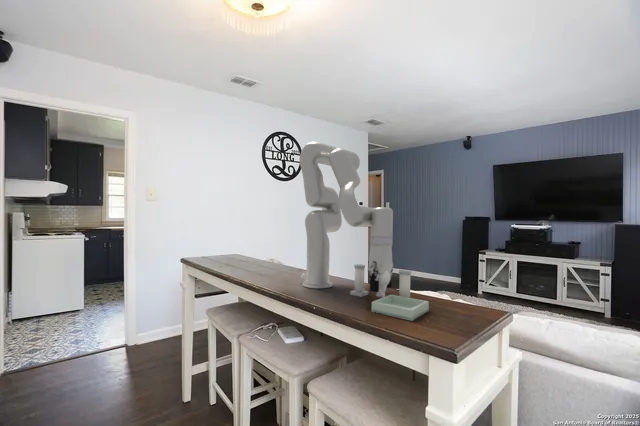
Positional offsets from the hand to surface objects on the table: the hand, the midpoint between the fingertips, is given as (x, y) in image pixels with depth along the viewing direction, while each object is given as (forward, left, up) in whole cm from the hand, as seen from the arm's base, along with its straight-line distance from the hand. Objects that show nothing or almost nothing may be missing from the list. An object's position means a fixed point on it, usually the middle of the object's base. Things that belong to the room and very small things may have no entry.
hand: (380, 289), depth 114 cm
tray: (+12, -10, -3) cm, 16 cm away
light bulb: (0, 0, -4) cm, 4 cm away
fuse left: (-9, 0, -3) cm, 10 cm away
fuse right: (+9, 0, -3) cm, 10 cm away
